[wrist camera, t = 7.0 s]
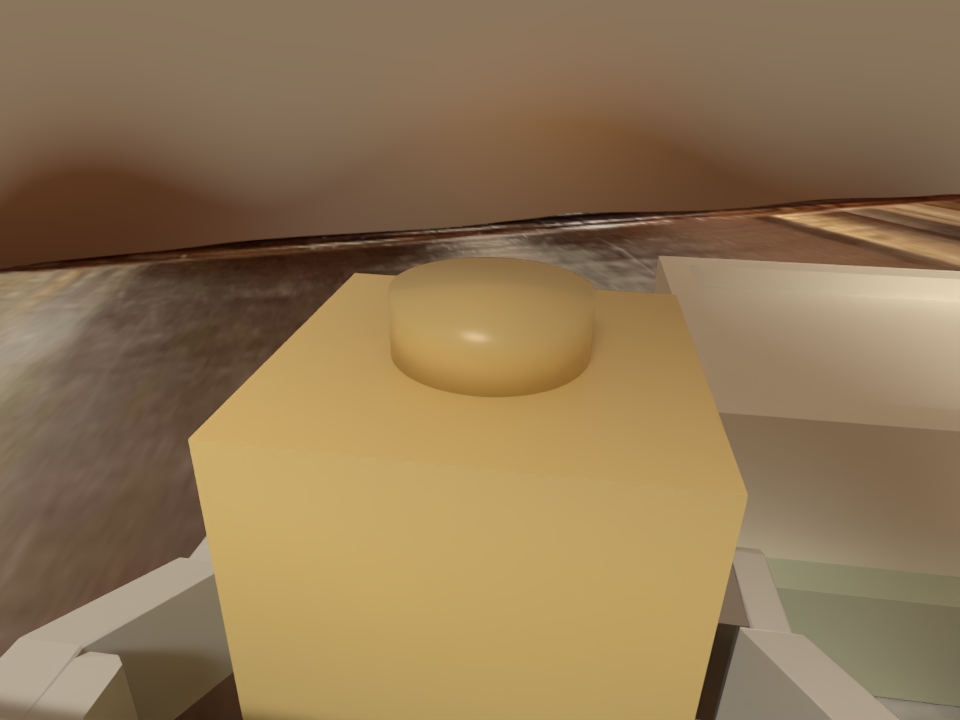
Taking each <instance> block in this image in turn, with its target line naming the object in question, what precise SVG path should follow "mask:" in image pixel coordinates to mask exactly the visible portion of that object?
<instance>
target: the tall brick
mask: <svg viewBox="0 0 960 720" xmlns="http://www.w3.org/2000/svg"><path fill="white" fill-rule="evenodd" d="M188 442H189V447H190V452H191V457H192V462H193V467H194V472H195V477H196V483H197V488H198V493H199V498H200V503H201V508H202V513H203V518H204V523H205V529H206V534H207V539H208V544H209V549H210V554H211V559H212V564H213V570H214V575H215V580H216V585H217V590H218V595H219V600H220V605H221V611H222V616H223V621H224V626H225V631H226V636H227V641H228V646H229V651H230V657H231V662H232V667H233V672H234V677H235V682H236V687H237V692H238V698H239V703H240V708H241V713H242V718H243V720H695V716H696V712H697V708H698V704H699V700H700V696H701V691H702V687H703V683H704V679H705V675H706V670H707V666H708V662H709V658H710V654H711V650H712V645H713V641H714V637H715V633H716V629H717V625H718V620H719V616H720V612H721V608H722V604H723V600H724V595H725V591H726V587H727V583H728V579H729V574H730V570H731V566H732V562H733V558H734V554H735V549H736V545H737V541H738V537H739V533H740V529H741V524H742V520H743V516H744V512H745V508H746V503H747V499H748V493H747V491H746V488H745V485H744V482H743V480H742V477H741V474H740V471H739V468H738V466H737V463H736V460H735V457H734V455H733V452H732V449H731V446H730V443H729V441H728V438H727V435H726V432H725V430H724V427H723V424H722V421H721V418H720V416H719V413H718V410H717V407H716V404H715V402H714V399H713V396H712V393H711V391H710V388H709V385H708V382H707V379H706V377H705V374H704V371H703V368H702V366H701V363H700V360H699V357H698V354H697V352H696V349H695V346H694V343H693V341H692V338H691V335H690V332H689V329H688V327H687V324H686V321H685V318H684V316H683V313H682V310H681V307H680V304H679V302H678V299H677V296H676V295H672V294H658V293H643V292H628V291H613V290H598V289H594V287H593V285H592V284H591V283H590V282H589V281H587V280H586V279H584V278H583V277H581V276H579V275H578V274H576V273H573V272H571V271H569V270H566V269H563V268H560V267H557V266H553V265H549V264H545V263H540V262H535V261H529V260H522V259H513V258H498V257H470V258H456V259H447V260H441V261H435V262H431V263H426V264H423V265H419V266H416V267H413V268H411V269H408V270H406V271H404V272H402V273H400V274H399V275H397V276H391V275H376V274H361V273H354V274H353V275H352V276H351V277H350V278H349V279H348V280H347V281H346V282H345V283H344V284H343V285H342V286H341V287H340V288H339V289H338V290H337V291H336V292H335V293H334V294H333V295H332V296H331V297H330V298H329V299H328V300H327V301H326V302H325V303H324V304H323V305H322V306H321V307H320V308H319V309H318V310H317V311H316V312H315V313H314V314H313V315H312V316H311V317H310V318H309V319H308V320H307V321H306V322H305V323H304V324H303V325H302V326H301V327H300V328H299V329H298V330H297V331H296V332H295V333H294V334H293V335H292V336H291V337H290V338H289V339H288V340H287V341H286V342H285V343H284V344H283V345H282V346H281V347H280V348H279V349H278V350H277V351H276V352H275V353H274V354H273V355H272V356H271V357H270V358H269V359H268V360H267V361H266V362H265V363H264V364H263V365H262V366H261V367H260V368H259V369H258V370H257V371H256V372H255V373H254V374H253V375H252V376H251V377H250V378H249V379H248V380H247V381H246V382H245V383H244V384H243V385H242V386H241V387H240V388H239V389H238V390H237V391H236V392H235V393H234V394H233V395H232V396H231V397H230V398H229V399H228V400H227V401H226V402H225V403H224V404H223V405H222V406H221V407H220V408H219V409H218V410H217V411H216V412H215V413H214V414H213V415H212V416H211V417H210V418H209V419H208V420H207V421H206V422H205V423H204V424H203V425H202V426H201V427H200V428H199V429H198V430H197V431H196V432H195V433H194V434H193V435H192V436H191V437H190V438H189V439H188Z"/></svg>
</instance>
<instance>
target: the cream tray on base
mask: <svg viewBox="0 0 960 720" xmlns="http://www.w3.org/2000/svg"><path fill="white" fill-rule="evenodd" d="M654 293H658V294H672V295H676V296H677V299H678V302H679V304H680V307H681V310H682V313H683V316H684V318H685V321H686V324H687V327H688V329H689V332H690V335H691V338H692V341H693V343H694V346H695V349H696V352H697V354H698V357H699V360H700V363H701V366H702V368H703V371H704V374H705V377H706V379H707V382H708V385H709V388H710V391H711V393H712V396H713V399H714V402H715V404H716V407H717V410H718V413H719V416H720V418H721V421H722V424H723V427H724V430H725V432H726V435H727V438H728V441H729V443H730V446H731V449H732V452H733V455H734V457H735V460H736V463H737V466H738V468H739V471H740V474H741V477H742V480H743V482H744V485H745V488H746V491H747V493H748V499H747V503H746V508H745V512H744V516H743V520H742V524H741V529H740V533H739V537H738V541H737V545H736V547H742V548H753V549H760V550H761V551H762V552H763V553H764V555H765V558H766V560H767V563H768V566H769V569H770V571H771V574H772V577H773V580H774V583H775V585H776V588H777V591H778V594H779V597H780V599H781V602H782V605H783V608H784V610H785V613H786V616H787V619H788V622H789V624H790V627H791V630H792V633H793V634H800V635H804V636H805V637H806V638H808V639H809V640H810V641H811V642H812V643H813V644H814V645H815V646H817V647H818V648H819V649H820V650H821V651H822V652H823V653H825V654H826V655H827V656H828V657H829V658H830V659H831V660H833V661H834V662H835V663H836V664H837V665H838V666H839V667H840V668H842V669H843V670H844V671H845V672H846V673H847V674H848V675H850V676H851V677H852V678H853V679H854V680H855V681H856V682H858V683H859V684H860V685H861V686H862V687H863V688H864V689H866V690H867V691H868V692H869V693H870V694H871V695H872V696H878V697H886V698H894V699H902V700H910V701H918V702H926V703H934V704H942V705H950V706H958V707H960V271H945V270H925V269H906V268H886V267H867V266H848V265H828V264H809V263H790V262H770V261H751V260H732V259H712V258H693V257H673V256H659V258H658V265H657V273H656V281H655V288H654Z"/></svg>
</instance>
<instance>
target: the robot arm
mask: <svg viewBox="0 0 960 720" xmlns="http://www.w3.org/2000/svg"><path fill="white" fill-rule="evenodd" d="M231 673H233V667H232V662H231V657H230V651H229V646H228V641H227V636H226V631H225V626H224V621H223V616H222V611H221V605H220V600H219V595H218V590H217V585H216V580H215V575H214V570H213V564H212V559H211V554H210V549H209V544H208V539H207V536H206V537H205V538H204V539H203V541H202V542H201V543H200V545H199V546H198V547H197V548H196V550H195V551H194V552H193V554H192V555H191V556H190V557H189V558H178V559H176V560H174V561H172V562H170V563H168V564H166V565H164V566H162V567H160V568H158V569H156V570H154V571H152V572H150V573H148V574H146V575H144V576H142V577H140V578H138V579H136V580H134V581H132V582H130V583H128V584H126V585H124V586H122V587H120V588H118V589H116V590H114V591H112V592H110V593H108V594H106V595H104V596H102V597H100V598H98V599H96V600H94V601H92V602H90V603H88V604H86V605H84V606H82V607H80V608H78V609H76V610H74V611H72V612H70V613H68V614H66V615H64V616H62V617H60V618H58V619H56V620H54V621H52V622H50V623H48V624H46V625H44V626H42V627H40V628H39V629H37V630H35V631H33V632H31V633H29V634H27V635H25V636H23V637H21V638H19V639H18V640H17V641H16V642H15V643H14V644H13V645H12V646H11V647H10V648H9V650H8V651H7V652H6V653H5V654H4V655H3V656H2V657H1V658H0V720H175V719H176V718H177V717H178V716H180V715H181V714H182V713H183V712H185V711H186V710H187V709H188V708H189V707H191V706H192V705H193V704H194V703H196V702H197V701H198V700H199V699H201V698H202V697H203V696H204V695H205V694H207V693H208V692H209V691H210V690H212V689H213V688H214V687H215V686H217V685H218V684H219V683H220V682H221V681H223V680H224V679H225V678H226V677H228V676H229V675H230V674H231ZM695 719H700V720H900V719H899V718H897V717H896V716H895V715H894V714H893V713H892V712H891V711H889V710H888V709H887V708H886V707H885V706H884V705H883V704H881V703H880V702H879V701H878V700H877V699H876V698H875V697H873V696H872V695H871V694H870V693H869V692H868V691H867V690H866V689H864V688H863V687H862V686H861V685H860V684H859V683H858V682H856V681H855V680H854V679H853V678H852V677H851V676H850V675H848V674H847V673H846V672H845V671H844V670H843V669H842V668H840V667H839V666H838V665H837V664H836V663H835V662H834V661H833V660H831V659H830V658H829V657H828V656H827V655H826V654H825V653H823V652H822V651H821V650H820V649H819V648H818V647H817V646H815V645H814V644H813V643H812V642H811V641H810V640H809V639H808V638H806V637H805V636H804V635H800V634H793V633H792V630H791V627H790V624H789V622H788V619H787V616H786V613H785V610H784V608H783V605H782V602H781V599H780V597H779V594H778V591H777V588H776V585H775V583H774V580H773V577H772V574H771V571H770V569H769V566H768V563H767V560H766V558H765V555H764V553H763V552H762V551H761V550H760V549H753V548H742V547H736V549H735V554H734V558H733V562H732V566H731V570H730V574H729V579H728V583H727V587H726V591H725V595H724V600H723V604H722V608H721V612H720V616H719V620H718V625H717V629H716V633H715V637H714V641H713V645H712V650H711V654H710V658H709V662H708V666H707V670H706V675H705V679H704V683H703V687H702V691H701V696H700V700H699V704H698V708H697V712H696V716H695Z"/></svg>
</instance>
